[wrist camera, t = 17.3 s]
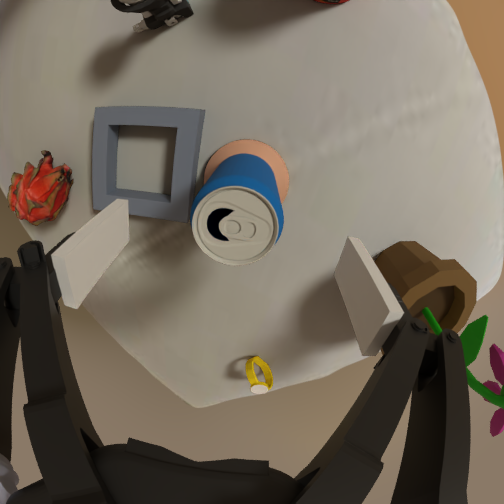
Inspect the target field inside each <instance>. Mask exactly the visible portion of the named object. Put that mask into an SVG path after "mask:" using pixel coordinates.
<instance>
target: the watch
mask: <svg viewBox="0 0 504 504" xmlns="http://www.w3.org/2000/svg"><path fill="white" fill-rule="evenodd" d="M254 362H255V363H256V364H257V365H258V366H259V367H261V369H262V371H263V373H264V376H265V380H266V383H264V382H259V381H258V379H257V377H256V375H255V372H254ZM246 375H247V378H248V380H249V382H250V384H251V387H250V390H251V391H252V392H253V393H256V394H264V393H266V392H267V391H268V390H270V389H271V388H272V386H273V376H272V372H271V370H270V368H269V366H268V364H266V363H265V362H264V361H263V360H262V359H261V358H259V356H256V357H253V358H251V359H248V361H247V363H246Z"/></svg>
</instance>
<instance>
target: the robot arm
mask: <svg viewBox="0 0 504 504" xmlns="http://www.w3.org/2000/svg"><path fill="white" fill-rule="evenodd" d="M128 242H129V215H128V200H124V199H116V200H115V201H114V202H112V203H111V204H110V205H108V206H107V207H106V208H105V209H103V210H102V211H101V212H100V213H98V214H97V215H96V216H95V217H93V218H92V219H91V220H90V221H89V222H87V223H86V224H85V225H84V226H83V227H81V228H80V229H79V230H78V231H77V232H74V233H72V234H69V235H67V236H66V237H65V238H64V239H63V240H61V242H59V243H58V244H57V246H55V247H54V248H53V249H51V250H50V251H49V252H48V253H47V254H46V255H45V254H44V249H43V245H42V243H41V242H40V241H30V242H27V243H25V244H23V245H21V246H20V248H19V249H18V251H17V252H18V256H19V259H20V263H21V267H13V264H12V261H11V259H10V258H7V257H4V258H0V504H362V502H363V501H364V499H365V498H366V496H367V495H368V493H369V492H370V490H371V488H372V487H373V485H374V483H375V482H376V480H377V478H378V477H379V475H380V473H381V471H382V469H383V463H382V462H381V457H382V455H383V453H384V452H385V450H386V448H387V446H388V444H389V442H390V440H391V438H392V436H393V434H394V432H395V429H396V427H397V425H398V423H399V421H400V418H401V416H402V414H403V411H404V409H405V406H406V404H407V402H408V399H409V397H410V394H411V391H412V398H411V407H410V417H409V423H408V430H407V436H406V442H405V448H404V452H403V457H402V462H401V466H400V470H399V474H398V478H397V482H396V486H395V489H394V493H393V496H392V500H391V504H468V502H467V493H466V489H467V481H468V473H469V460H470V406H469V405H470V404H469V391H468V381H467V373H466V365H465V359H464V352H463V347H462V342H461V339H460V337H459V336H458V334H457V333H456V332H455V331H453V330H451V329H447V328H446V329H443V330H442V332H441V333H440V334H439V335H436V334H433V333H430V332H429V328H428V326H427V325H426V324H425V323H424V322H423V321H421V320H420V319H417V318H413V317H412V316H411V314H410V312H409V310H408V309H407V307H406V305H405V303H404V302H403V300H402V298H401V297H400V295H399V293H398V292H397V290H396V289H395V288H394V287H393V286H392V285H391V284H390V283H387V282H386V280H385V279H384V277H383V275H382V274H381V272H380V270H379V269H378V267H377V266H376V264H375V262H374V261H373V259H372V258H371V256H370V255H369V253H368V251H367V250H366V248H365V247H364V245H363V244H362V242H361V241H360V239H358V238H354V237H349V236H348V238H347V240H346V243H345V246H344V249H343V251H342V254H341V257H340V260H339V262H338V265H337V267H336V270H335V273H334V276H335V279H336V282H337V284H338V287H339V290H340V292H341V295H342V298H343V300H344V303H345V306H346V309H347V312H348V314H349V317H350V320H351V323H352V326H353V329H354V332H355V335H356V338H357V341H358V344H359V347H360V350H361V353H362V356H376V355H377V353H378V352H379V351H380V349H381V348H382V349H383V351H384V355H383V356H382V357H381V359H380V360H379V361H378V363H377V364H376V366H375V367H374V369H375V370H374V372H373V373H372V375H371V377H370V378H369V380H368V382H367V383H366V385H365V387H364V388H363V390H362V392H361V393H360V395H359V397H358V398H357V400H356V401H355V403H354V404H353V406H352V407H351V409H350V410H349V412H348V413H347V415H346V416H345V418H344V419H343V421H342V422H341V423H340V425H339V427H338V428H337V429H336V431H335V432H334V433H333V435H332V436H331V437H330V439H329V440H328V441H327V443H326V444H325V445H324V446H323V448H322V449H321V450H320V451H319V453H318V454H317V455H316V456H315V458H314V459H313V460H312V461H311V462H310V464H308V466H307V467H305V468H304V469H303V470H302V471H301V472H300V473H299V474H298V475H297V476H296V477H295V478H292V477H290V476H289V475H287V474H285V473H283V472H281V471H279V470H276V469H273V468H270V467H269V461H261V460H244V459H227V460H216V461H205V462H204V461H203V462H197V461H193V460H190V459H188V458H185V457H183V456H181V455H179V454H176V453H174V452H172V451H170V450H168V449H166V448H164V447H161V446H158V445H154V444H149V443H146V442H142V441H139V440H135V439H132V438H129V439H128V442H127V444H114V445H107V446H104V445H103V443H102V441H101V440H100V438H99V436H98V435H97V433H96V431H95V429H94V427H93V425H92V422H91V420H90V417H89V415H88V412H87V409H86V407H85V404H84V401H83V399H82V396H81V392H80V390H79V386H78V383H77V380H76V377H75V373H74V370H73V366H72V363H71V359H70V355H69V351H68V347H67V343H66V338H65V334H64V329H63V324H62V318H61V313H60V307H59V304H58V300H59V298H60V297H61V296H62V298H63V301H64V305H65V306H68V307H71V308H74V309H78V307H79V306H80V305H81V303H82V302H83V300H84V299H85V297H86V296H87V295H88V293H89V292H90V291H91V289H92V288H93V286H94V285H95V284H96V282H97V281H98V280H99V278H100V277H101V276H102V275H103V273H104V272H105V271H106V269H107V268H108V267H109V266H110V264H111V263H112V262H113V260H114V259H115V258H116V257H117V255H118V254H119V253H120V252H121V251H122V249H123V248H124V247H125V246H126V244H127V243H128ZM20 338H21V352H22V361H23V371H24V378H25V385H26V391H27V396H28V404H24V407H23V410H24V417H25V421H26V426H27V430H28V434H29V437H30V441H31V445H32V448H33V451H34V454H35V457H36V460H37V463H38V466H39V469H40V472H41V474H42V477H43V479H41V480H39V481H37V482H35V483H33V484H31V485H29V486H27V487H24V488H23V489H20V490H17V487H16V485H17V484H18V482H19V478H18V475H17V473H16V472H15V471H14V470H13V467H12V465H11V464H10V461H11V449H12V434H11V433H12V431H11V416H12V393H13V381H14V371H15V363H16V357H17V351H18V345H19V339H20Z"/></svg>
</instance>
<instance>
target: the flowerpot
mask: <svg viewBox="0 0 504 504" xmlns="http://www.w3.org/2000/svg"><path fill="white" fill-rule="evenodd" d="M375 264H376V266H377V267H378V269H379V270H380V272H381V274H382V275H383V277H384V279H385V280H386V282H387V283H390V284H391V285H392V286H393V287H394V288H395V289H396V290H397V292H398V293H399V295H400V297H401V298H402V300H403V302H404V303H405V305H406V307H407V309H408V310H409V312H410V314H411V316H412V317H413V318H417V319H420V320H421V321H423V322H424V323H425V324H426V325H427V326H428V328H429V332H430V333H433V334H436V335H439V334H440V333H441V332H442V330H443V329H446V328H447V329H451V330H453V331H455V332H456V333H458V332H459V331H460V330H461V329H462V328H463V327H464V325H465V324H466V322H467V320H468V318H469V316H470V314H471V312H472V310H473V308H474V306H475V304H476V293H477V282H476V280H475V279H474V278H473V277H472V276H471V275H470V274H469V273H468V272H467V271H466V270H465V269H464V268H463V267H462V266H461V265H460V264H459V263H458V262H457V261H456V260H455V259H450V260H441V259H439V258H438V257H437V256H435V255H434V254H432V253H431V252H430V251H428V250H427V249H426V248H424V247H423V246H421V245H420V244H419V243H417V242H416V241H399V242H398V243H396V244H394V245H392V246H391V247H389V248H387V249H385V250H383V251H382V253H381V254H380V255H379V257H378V258H377V259H376V260H375ZM487 322H488V317H487V316H486V315H484V316H482V317H481V318H479V319H477V320H476V321H474V322H472V323H470V324H468V326H467V327H466V328H465V330H464V331H463V333H462V334H461V336H460V339H461V342H462V347H463V352H464V359H465V365H466V373H467V381H468V385H469V386H470V387H471V388H472V389H473V390H475V391H476V392H477V393H479V394H480V395H481V396H483V398H484V400H485V401H488V402H490V403H492V404H494V405H497V406H499V407H501V408H500V409H498V410H497V411H495V413H494V415H493V417H492V419H491V422H490V433H491V434H492V436H493V437H494V436H496V435H498V434H499V433H501V432H502V431H503V429H504V352H502V350H500V348H498V347H497V346H496V345H495V344H493V345H492V346H491V347H490V364H491V367H492V370H493V372H494V376H495V378H496V380H498V381H499V382H500V383H501V384H502V385H503V386H502V389H501V388H500V387H499V385H498V383H496V382H492V381H487V382H485V383H483V384H482V383H480V382H479V381H477V380H476V379H475V377H474V376H473V375H472V373H471V372H470V371H469V370H468V368H467V366H468V365H470V363H472V362H473V361H474V360H475V359H476V357H477V355H478V353H479V350H480V347H481V345H482V342H483V338H484V334H485V331H486V326H487ZM381 352H382V354H383V355H384V351H383V349H382V348H381Z"/></svg>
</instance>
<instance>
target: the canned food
mask: <svg viewBox="0 0 504 504" xmlns="http://www.w3.org/2000/svg"><path fill="white" fill-rule="evenodd" d="M314 1H317V2H321V3H326V4H338V3H343V2H346V1H349V0H314Z"/></svg>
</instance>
